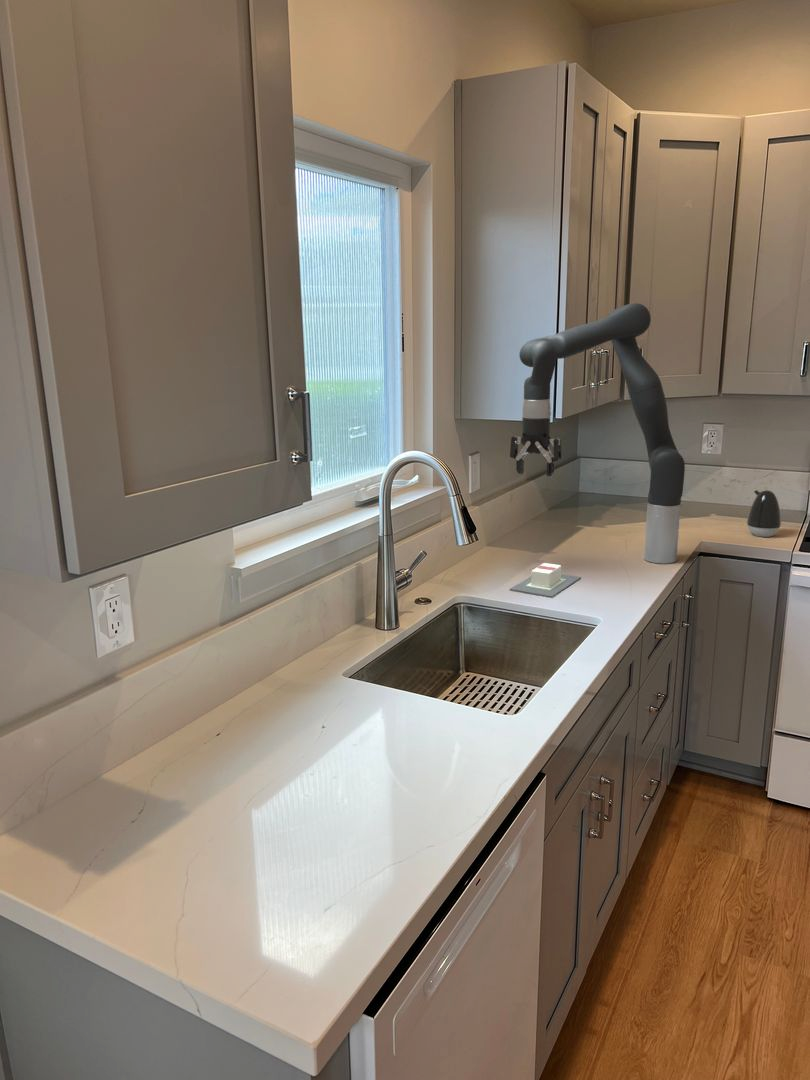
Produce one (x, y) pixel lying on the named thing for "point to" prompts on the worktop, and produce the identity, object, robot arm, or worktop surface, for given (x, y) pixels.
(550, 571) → the card deck
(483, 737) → the worktop surface
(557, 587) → the mat
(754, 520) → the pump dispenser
